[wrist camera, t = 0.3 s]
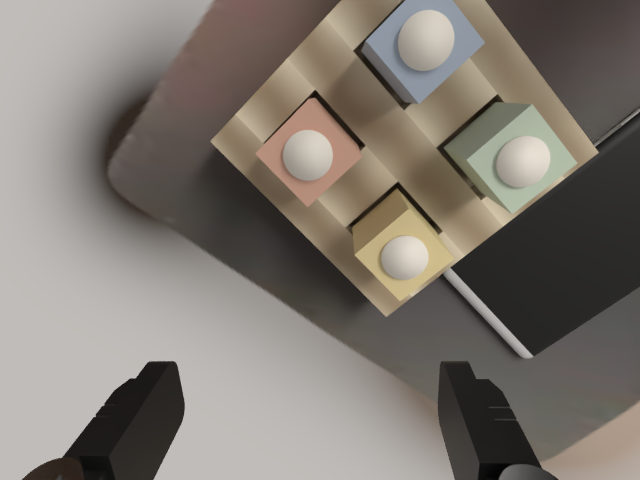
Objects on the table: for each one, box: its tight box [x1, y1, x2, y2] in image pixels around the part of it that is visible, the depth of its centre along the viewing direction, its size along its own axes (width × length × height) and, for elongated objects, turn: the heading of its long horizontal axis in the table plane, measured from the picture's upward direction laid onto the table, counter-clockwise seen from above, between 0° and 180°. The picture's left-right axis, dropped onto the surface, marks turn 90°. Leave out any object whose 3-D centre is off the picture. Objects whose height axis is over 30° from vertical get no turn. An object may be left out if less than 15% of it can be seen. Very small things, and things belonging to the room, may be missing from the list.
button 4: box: [444, 102, 577, 214], centre depth 27 cm, size 5×5×6 cm
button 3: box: [352, 189, 455, 301], centre depth 30 cm, size 5×5×6 cm
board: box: [210, 0, 599, 317], centre depth 32 cm, size 20×20×4 cm
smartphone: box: [443, 108, 640, 358], centre depth 36 cm, size 13×27×2 cm, turn 134°
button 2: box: [361, 0, 485, 104], centre depth 25 cm, size 5×5×6 cm
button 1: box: [255, 98, 362, 207], centre depth 28 cm, size 5×5×6 cm
